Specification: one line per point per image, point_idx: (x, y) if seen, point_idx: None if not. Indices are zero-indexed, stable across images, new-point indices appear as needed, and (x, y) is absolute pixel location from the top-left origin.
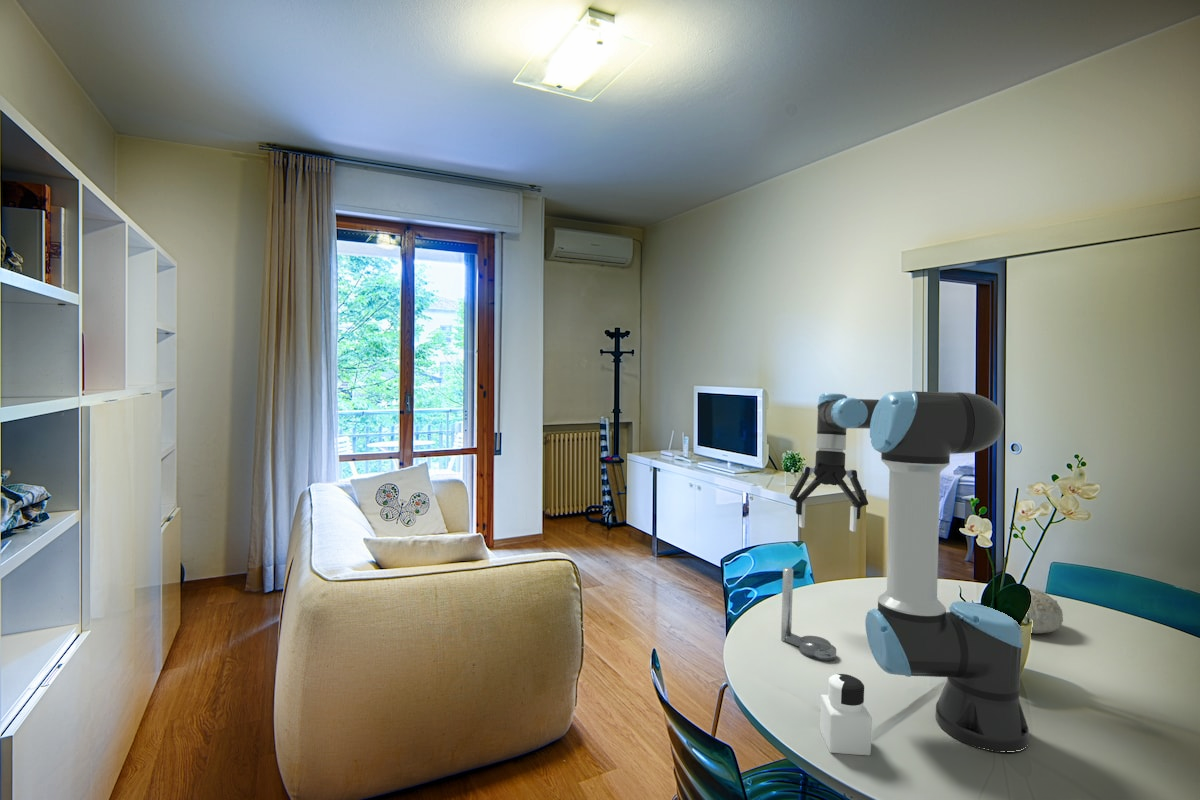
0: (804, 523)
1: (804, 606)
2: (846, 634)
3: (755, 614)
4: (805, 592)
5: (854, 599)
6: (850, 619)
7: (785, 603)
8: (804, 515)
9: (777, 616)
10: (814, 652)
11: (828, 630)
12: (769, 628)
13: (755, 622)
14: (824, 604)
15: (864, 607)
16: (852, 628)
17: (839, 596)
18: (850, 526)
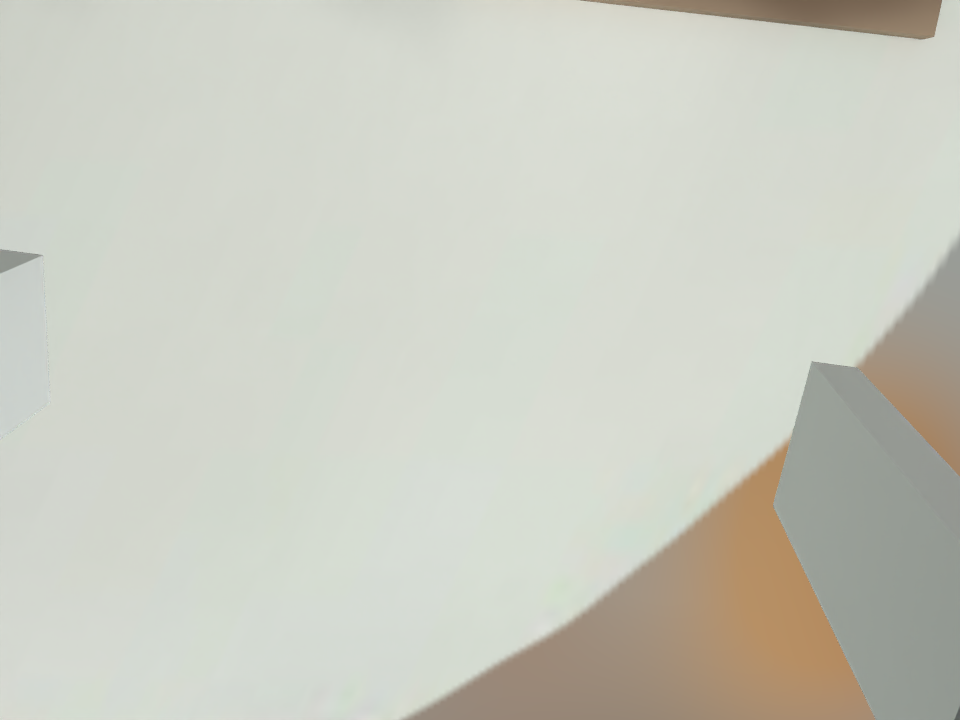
0: (835, 389)
1: (470, 478)
2: (391, 75)
3: None
4: (376, 676)
5: (121, 567)
6: (272, 285)
7: None
8: (895, 450)
9: (696, 343)
10: None
11: (475, 135)
12: (819, 176)
13: (866, 263)
14: (336, 502)
15: (111, 452)
16: (317, 158)
17: (193, 613)
18: (13, 398)
